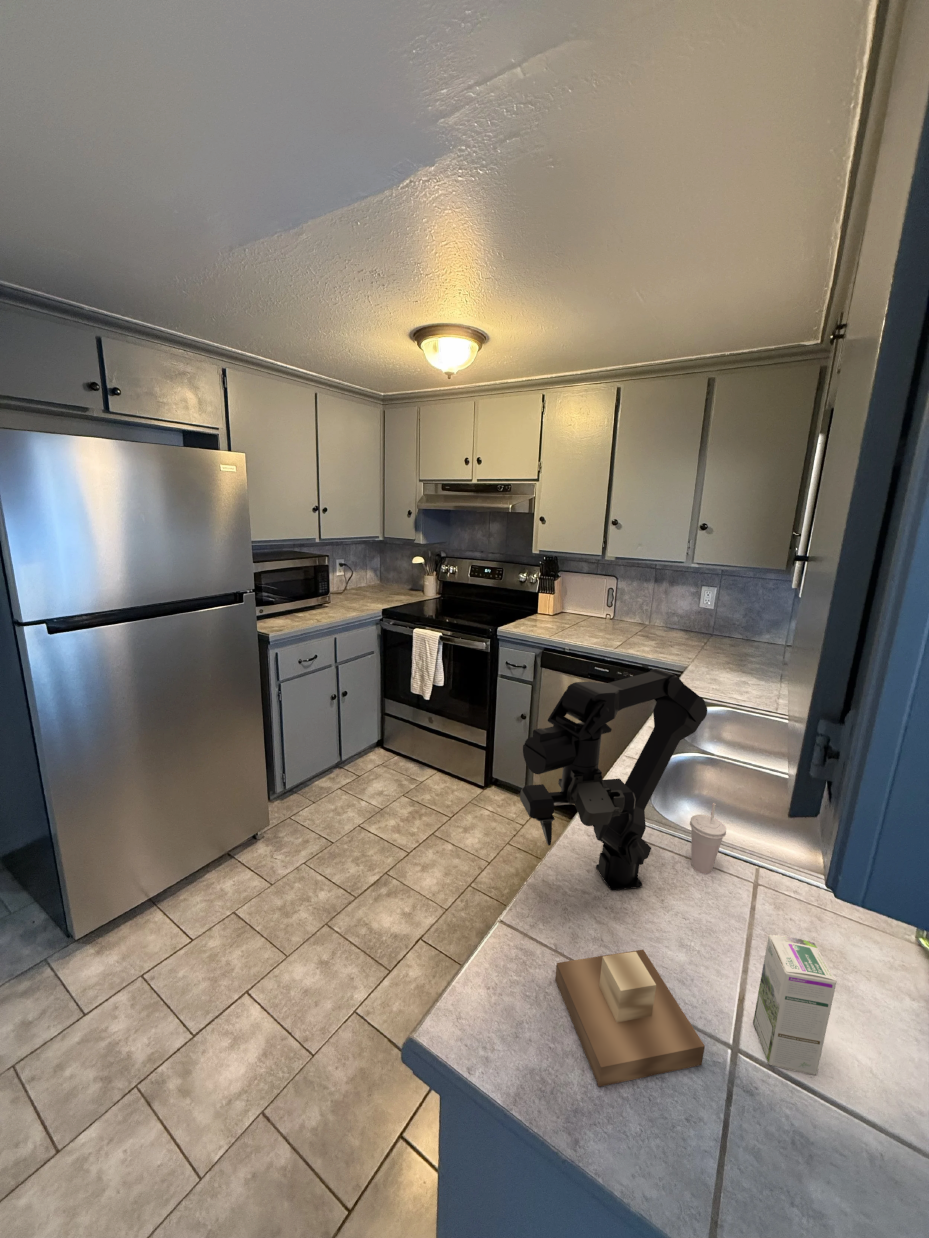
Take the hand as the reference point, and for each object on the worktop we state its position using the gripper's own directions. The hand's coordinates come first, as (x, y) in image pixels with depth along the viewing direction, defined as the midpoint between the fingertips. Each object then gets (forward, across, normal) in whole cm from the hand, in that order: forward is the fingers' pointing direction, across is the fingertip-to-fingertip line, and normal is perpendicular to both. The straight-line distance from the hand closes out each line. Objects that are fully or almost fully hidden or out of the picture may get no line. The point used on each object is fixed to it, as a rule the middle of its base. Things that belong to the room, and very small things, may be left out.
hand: (573, 841), depth 84 cm
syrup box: (+12, +18, -28) cm, 36 cm away
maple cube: (+9, -1, -21) cm, 23 cm away
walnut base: (+12, -1, -21) cm, 24 cm away
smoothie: (+12, +30, +4) cm, 33 cm away
